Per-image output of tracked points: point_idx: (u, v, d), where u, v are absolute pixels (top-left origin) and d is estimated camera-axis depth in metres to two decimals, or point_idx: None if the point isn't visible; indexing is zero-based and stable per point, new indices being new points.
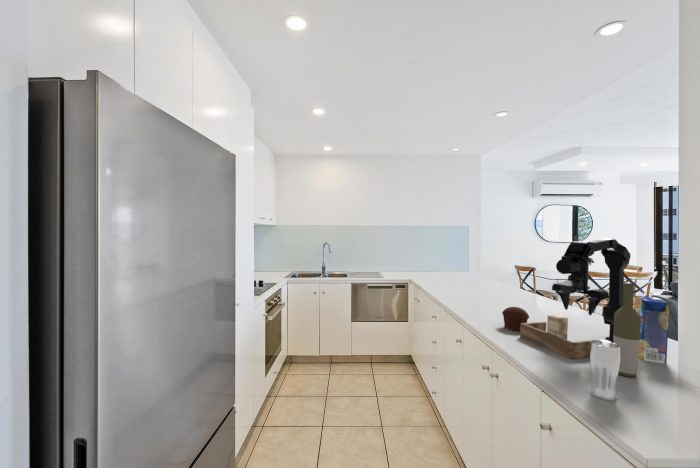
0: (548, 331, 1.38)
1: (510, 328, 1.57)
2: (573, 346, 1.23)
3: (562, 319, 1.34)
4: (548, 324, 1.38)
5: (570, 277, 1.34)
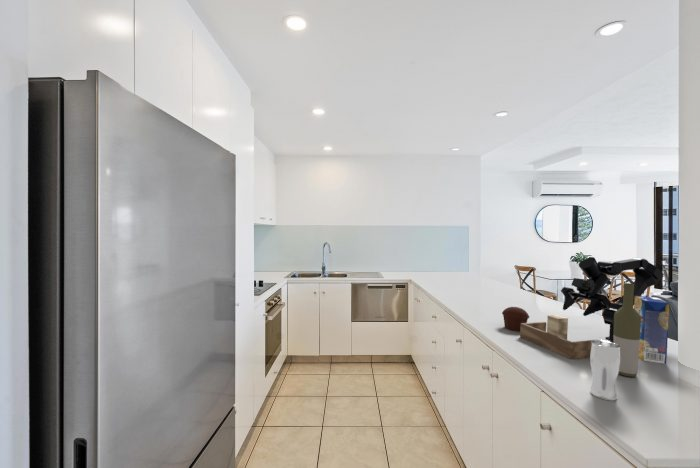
0: (548, 331, 1.38)
1: (510, 328, 1.57)
2: (573, 346, 1.23)
3: (562, 319, 1.34)
4: (548, 324, 1.38)
5: None
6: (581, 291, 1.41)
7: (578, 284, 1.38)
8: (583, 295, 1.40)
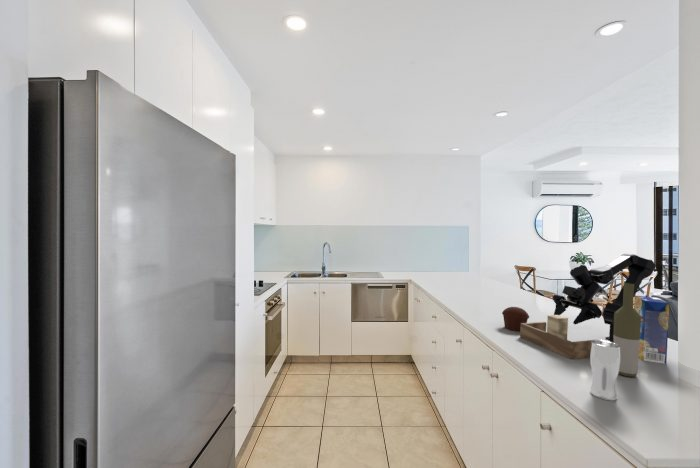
0: (548, 331, 1.38)
1: (510, 328, 1.57)
2: (573, 346, 1.23)
3: (562, 319, 1.34)
4: (548, 324, 1.38)
5: None
6: (572, 299, 1.40)
7: (569, 292, 1.37)
8: (574, 303, 1.39)
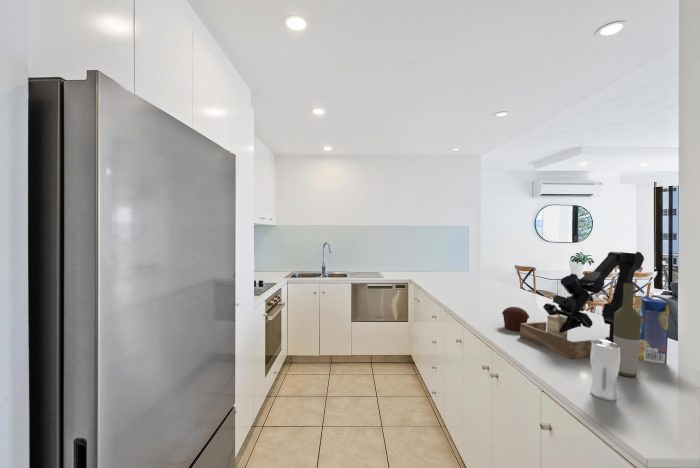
0: (548, 331, 1.38)
1: (510, 328, 1.57)
2: (573, 346, 1.23)
3: (562, 319, 1.34)
4: (548, 324, 1.38)
5: None
6: (563, 308, 1.39)
7: (559, 301, 1.35)
8: (564, 312, 1.38)
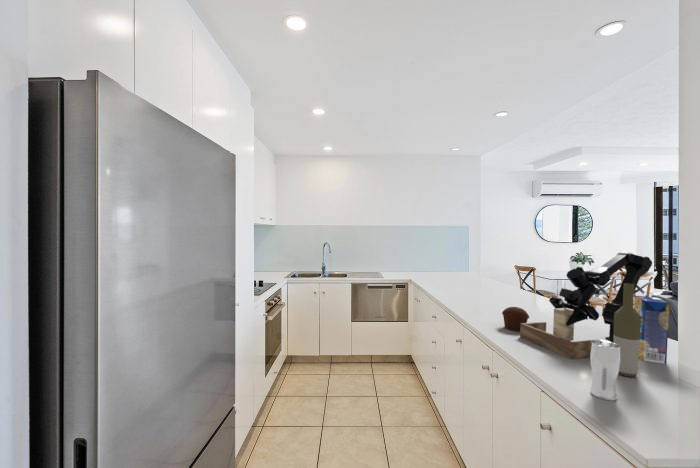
0: (554, 324, 1.39)
1: (510, 328, 1.57)
2: (573, 346, 1.23)
3: (569, 312, 1.35)
4: (554, 317, 1.39)
5: None
6: (569, 301, 1.39)
7: (565, 295, 1.36)
8: (571, 305, 1.39)
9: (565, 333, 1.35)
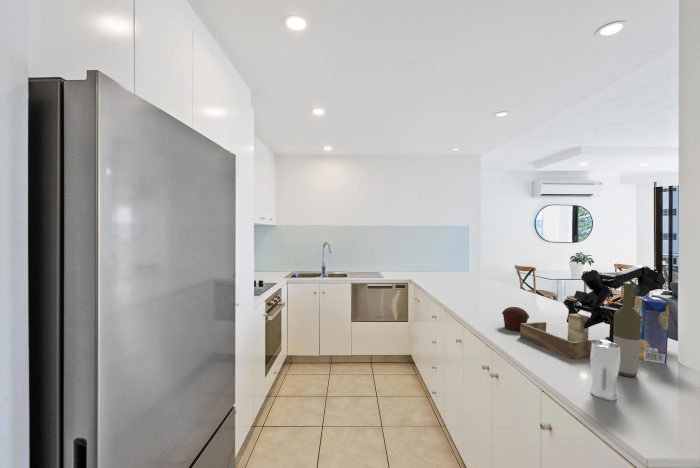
0: (569, 329, 1.41)
1: (510, 328, 1.57)
2: (573, 346, 1.23)
3: (584, 318, 1.37)
4: (569, 322, 1.41)
5: None
6: (583, 304, 1.42)
7: (580, 297, 1.38)
8: (585, 308, 1.41)
9: (580, 338, 1.37)
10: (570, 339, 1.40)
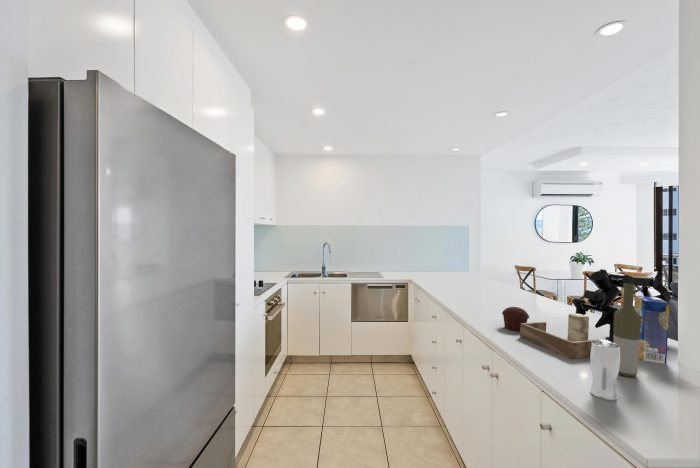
0: (569, 329, 1.41)
1: (510, 328, 1.57)
2: (573, 346, 1.23)
3: (584, 318, 1.37)
4: (569, 322, 1.41)
5: None
6: (592, 303, 1.43)
7: (590, 296, 1.40)
8: (594, 307, 1.42)
9: (580, 338, 1.37)
10: (570, 339, 1.40)
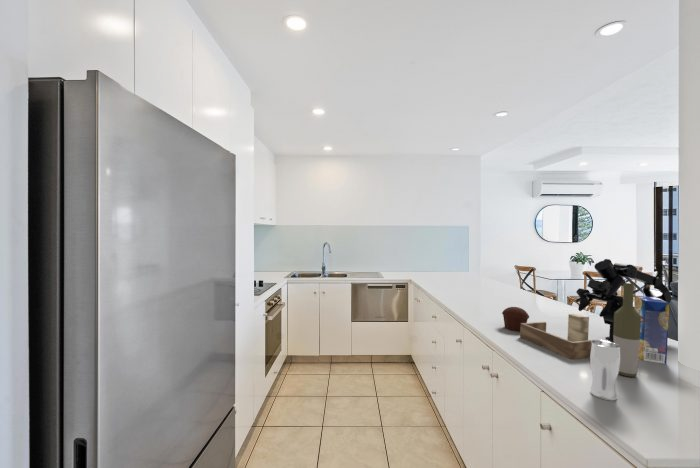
0: (569, 329, 1.41)
1: (510, 328, 1.57)
2: (573, 346, 1.23)
3: (584, 318, 1.37)
4: (569, 322, 1.41)
5: None
6: (597, 292, 1.44)
7: (594, 285, 1.40)
8: (599, 296, 1.43)
9: (580, 338, 1.37)
10: (570, 339, 1.40)
